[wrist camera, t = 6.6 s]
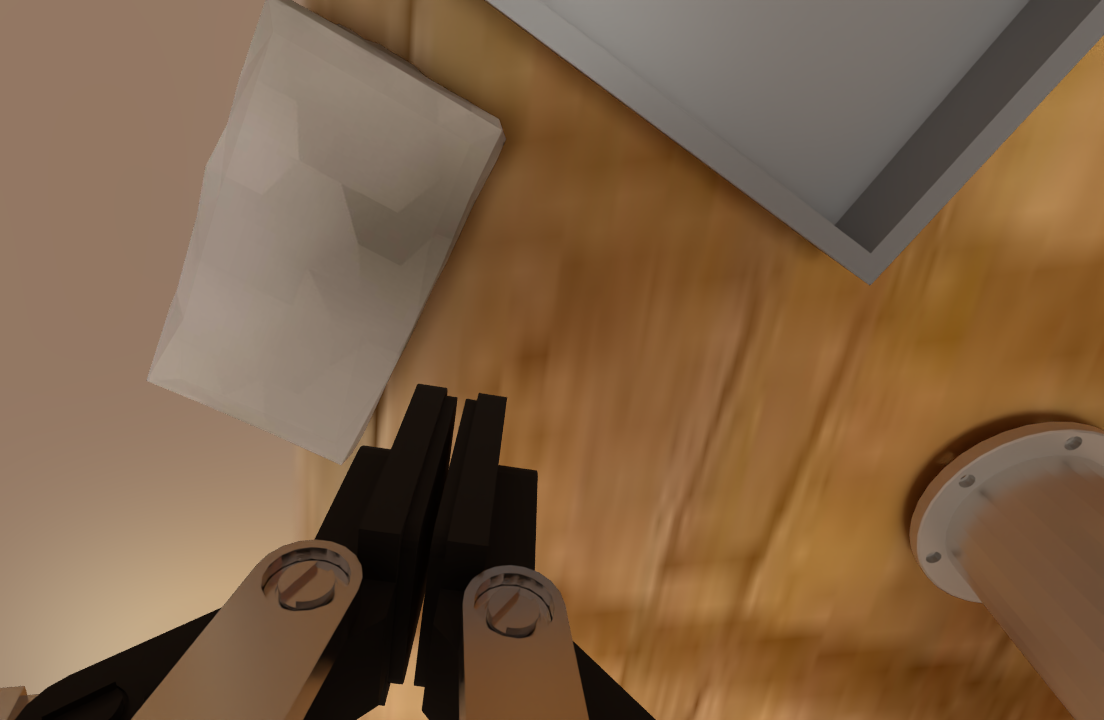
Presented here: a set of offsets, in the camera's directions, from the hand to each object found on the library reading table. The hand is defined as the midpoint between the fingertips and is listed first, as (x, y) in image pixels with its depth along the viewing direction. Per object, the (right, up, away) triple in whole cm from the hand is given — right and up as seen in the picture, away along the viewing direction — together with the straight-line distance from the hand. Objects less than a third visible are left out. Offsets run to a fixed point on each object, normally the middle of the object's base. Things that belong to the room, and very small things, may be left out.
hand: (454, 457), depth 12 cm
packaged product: (-4, +4, +17) cm, 18 cm away
